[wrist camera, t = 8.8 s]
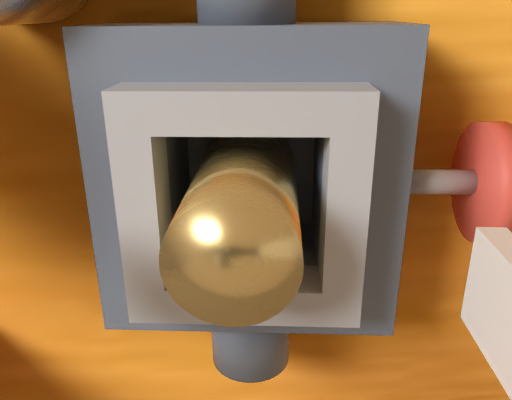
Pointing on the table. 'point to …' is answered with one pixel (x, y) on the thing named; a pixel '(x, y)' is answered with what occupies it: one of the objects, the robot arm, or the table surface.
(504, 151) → the valve body
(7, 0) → the steel nipple large
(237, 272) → the brass cylinder
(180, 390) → the table surface
